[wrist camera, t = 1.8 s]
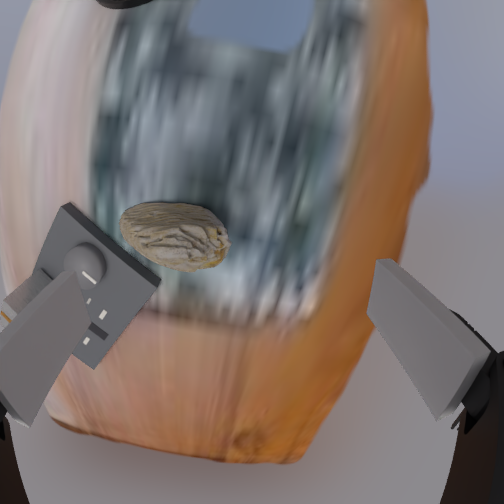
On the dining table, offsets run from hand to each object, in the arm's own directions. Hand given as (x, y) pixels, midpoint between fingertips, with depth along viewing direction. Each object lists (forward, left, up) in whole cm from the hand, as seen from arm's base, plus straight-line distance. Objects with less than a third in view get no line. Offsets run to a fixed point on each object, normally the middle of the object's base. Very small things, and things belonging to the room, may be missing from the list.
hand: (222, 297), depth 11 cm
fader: (-15, -30, -22) cm, 40 cm away
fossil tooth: (-3, -8, -26) cm, 27 cm away
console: (-9, -28, -25) cm, 38 cm away
